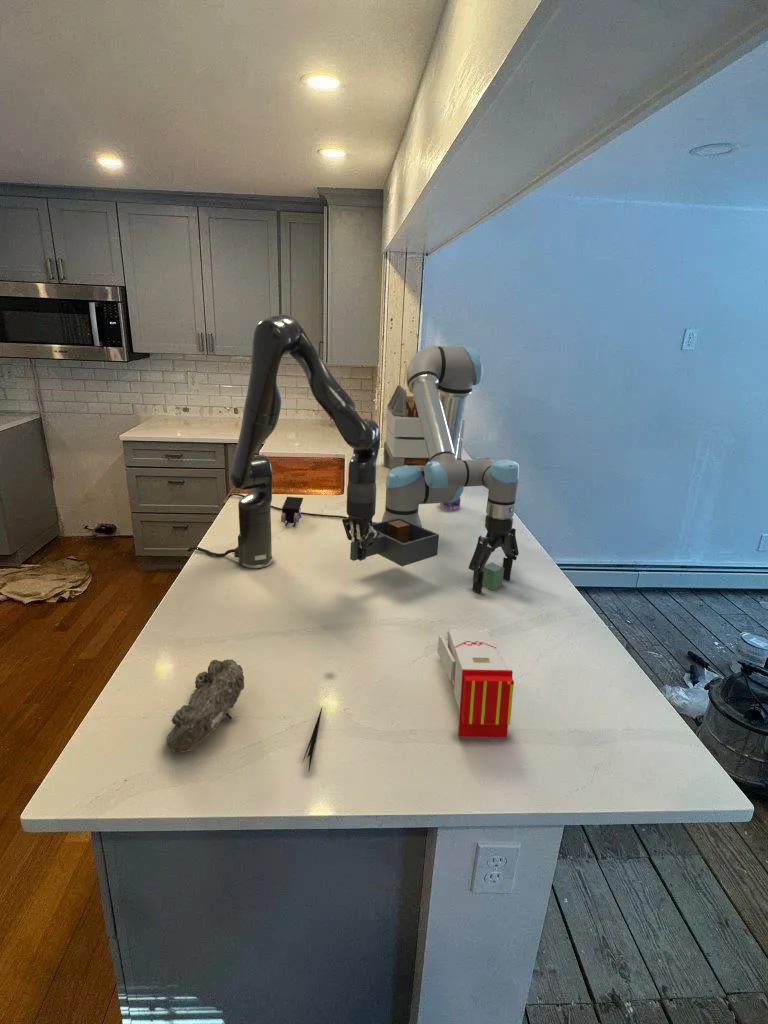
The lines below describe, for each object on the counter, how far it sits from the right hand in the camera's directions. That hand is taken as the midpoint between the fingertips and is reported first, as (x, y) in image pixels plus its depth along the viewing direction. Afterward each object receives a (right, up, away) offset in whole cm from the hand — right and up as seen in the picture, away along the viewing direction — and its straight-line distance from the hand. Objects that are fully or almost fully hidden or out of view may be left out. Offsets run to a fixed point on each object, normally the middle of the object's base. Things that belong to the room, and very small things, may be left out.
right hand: (491, 585), depth 165 cm
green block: (0, 0, 0) cm, 0 cm away
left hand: (-38, +9, -13) cm, 41 cm away
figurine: (-5, +23, +63) cm, 67 cm away
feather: (-44, -19, -56) cm, 74 cm away
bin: (-31, +9, -6) cm, 33 cm away
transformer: (-14, +40, +110) cm, 118 cm away
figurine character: (-65, +18, +41) cm, 79 cm away
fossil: (-64, -18, -57) cm, 88 cm away
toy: (-13, -16, -46) cm, 51 cm away
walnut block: (-27, +12, +1) cm, 30 cm away
